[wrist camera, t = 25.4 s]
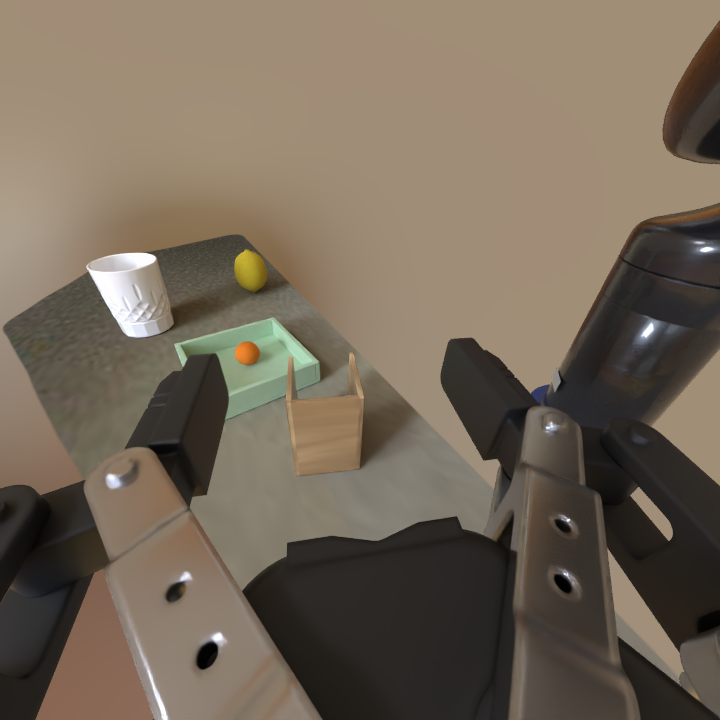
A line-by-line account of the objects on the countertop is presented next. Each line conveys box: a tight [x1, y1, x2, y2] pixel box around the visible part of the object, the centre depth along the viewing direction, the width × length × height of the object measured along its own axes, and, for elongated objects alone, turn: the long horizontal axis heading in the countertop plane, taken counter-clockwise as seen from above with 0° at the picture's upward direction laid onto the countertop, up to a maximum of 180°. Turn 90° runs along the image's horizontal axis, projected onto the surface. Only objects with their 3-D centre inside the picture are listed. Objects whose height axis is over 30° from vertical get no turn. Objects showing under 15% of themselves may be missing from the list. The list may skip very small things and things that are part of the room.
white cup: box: [87, 253, 174, 338], centre depth 44 cm, size 8×8×10 cm
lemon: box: [235, 250, 267, 293], centre depth 56 cm, size 6×6×8 cm
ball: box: [235, 341, 260, 365], centre depth 39 cm, size 3×3×3 cm
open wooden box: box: [286, 353, 364, 476], centre depth 28 cm, size 6×6×9 cm
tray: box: [174, 317, 320, 420], centre depth 38 cm, size 13×13×3 cm
